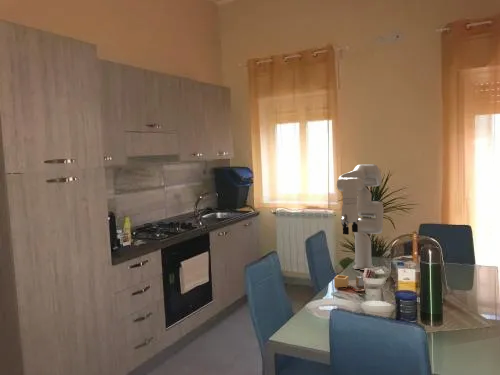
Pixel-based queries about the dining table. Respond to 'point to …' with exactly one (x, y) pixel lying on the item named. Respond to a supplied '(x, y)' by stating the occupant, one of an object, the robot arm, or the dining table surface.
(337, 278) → the orange cube
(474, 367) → the dining table surface
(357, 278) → the post
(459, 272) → the dining table surface
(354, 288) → the base plate
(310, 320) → the dining table surface
